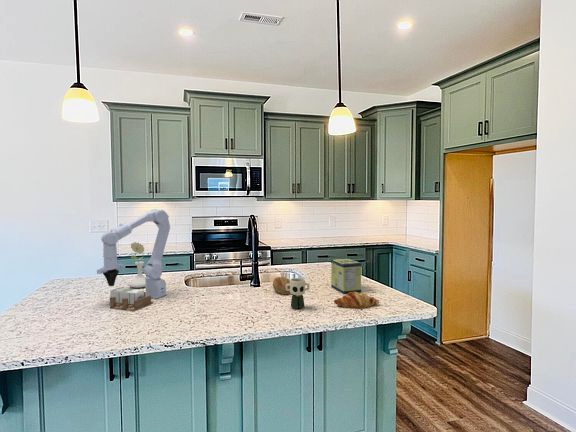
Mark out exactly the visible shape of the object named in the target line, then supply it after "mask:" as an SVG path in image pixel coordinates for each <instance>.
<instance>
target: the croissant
mask: <svg viewBox="0 0 576 432" xmlns="http://www.w3.org/2000/svg"><path fill="white" fill-rule="evenodd" d="M333 302H334V304H335V305H337V306H341V307H343V308H345V309H346V308H350V309H364V308H368V307H372V306H376V305H378V304H379V303H380V299H377V298H375V297H374V296H370V295H367V294H366V293H361V294H360V292H349V293H348V294H343V296H342V297H338V298H336V299H334V300H333Z"/></svg>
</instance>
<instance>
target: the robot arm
mask: <svg viewBox="0 0 576 432" xmlns="http://www.w3.org/2000/svg"><path fill="white" fill-rule="evenodd" d="M147 222H153V223H154V224H155V225H156V226H157V228H158V231H157V235H156V238H155V242H154V245H153V249H152V252H151V256H150V259H148V261H147V263H146V265H145V266H144V267H143V275H145V277H146V278H145V280H146V287H145V292H146V296H149V295H151V299H158V298H161V297H164V296H166V295H167V294H168V293H167V283H166V280H165V279H163V278H161V276H162V275H163V270H162V269H163V268H162V267H163V264H162V259H163V256H164V252H165V249H166V248H165V247H166V245H167V244H166V243H167V241H168V237H169V233H170V229H171V224H170V219H169V214H168V213H167V212H166V211H165V210H163V209H157V208H155V209H154V208H153V209H151V210H150V211H146V212H145V213H143V214H142V215H140V216H138V217H137V218H135V219H134V220H132V221H130V222H128V223H127V222H126V223H125V222H124V223H119V224H118V226H117V227H115V228H113V229H112V228H111V229H109V231H107V232H104V233H103V235H102V236H101V238H100V239H101V242H102V243H103V248H102V249H103V266H102V267H101V268H98V269H96V274H97V275H102V274H103V276H104V278H105V279H106V282H107V284H108V287H114V286H115V283H116V279H117V276H118V274H119V273H120V271H119V270H120V269H124V268H125V264H124V263H118V250H117V249H118V248H117V243H118V241H120V240H122V239H124V238H125V237H127V236H128V235H130V234H131V233H132V232H133V230H134V229H135V228H137V227H139V226H141V225H143V224H145V223H147Z"/></svg>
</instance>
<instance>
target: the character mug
mask: <svg viewBox="0 0 576 432" xmlns="http://www.w3.org/2000/svg"><path fill="white" fill-rule="evenodd" d="M289 280H290V284H286V291H290V293H289V294H291V300H290V307H291V308H292V309H295V310H296V309H297V310H298V309H303V308H305V299H304V298H305V297H304V294H305V293H306V291H309V290H310V283H309V282H306V279H305V278H303V277H292V278H289ZM288 286H290V289H288Z"/></svg>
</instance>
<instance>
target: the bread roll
mask: <svg viewBox="0 0 576 432" xmlns="http://www.w3.org/2000/svg"><path fill="white" fill-rule="evenodd" d="M286 284H290V278H288V277H286V276H277V277H274V278H273V281H272V284H271V285H272V287H273V289H274V290H275V291H276V292H277V293H278V294H282V295H289V294H291V293H290V291H286ZM288 289H290V286H288Z"/></svg>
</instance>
